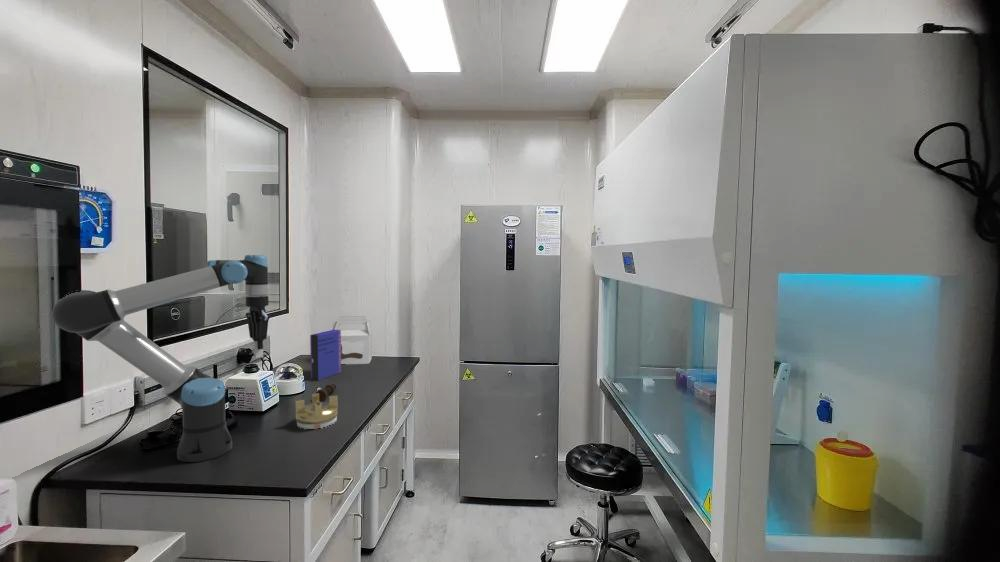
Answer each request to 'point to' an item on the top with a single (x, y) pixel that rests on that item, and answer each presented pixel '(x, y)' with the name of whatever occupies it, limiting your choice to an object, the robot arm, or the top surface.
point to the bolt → (326, 392)
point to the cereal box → (325, 354)
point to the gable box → (356, 339)
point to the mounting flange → (318, 425)
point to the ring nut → (316, 410)
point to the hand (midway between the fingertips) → (258, 357)
